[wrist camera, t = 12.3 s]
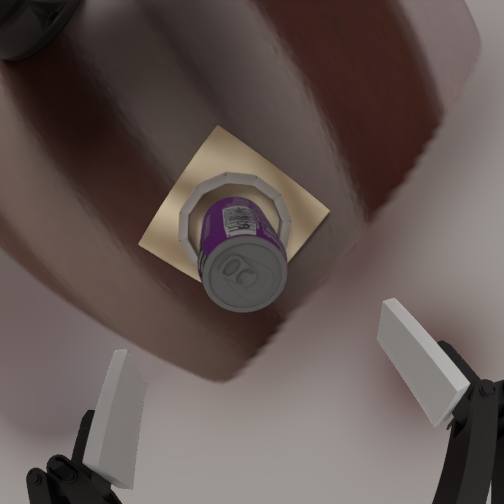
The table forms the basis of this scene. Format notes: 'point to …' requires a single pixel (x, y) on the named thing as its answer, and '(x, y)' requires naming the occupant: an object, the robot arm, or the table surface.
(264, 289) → the beverage can
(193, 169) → the ring board
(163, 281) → the table surface
